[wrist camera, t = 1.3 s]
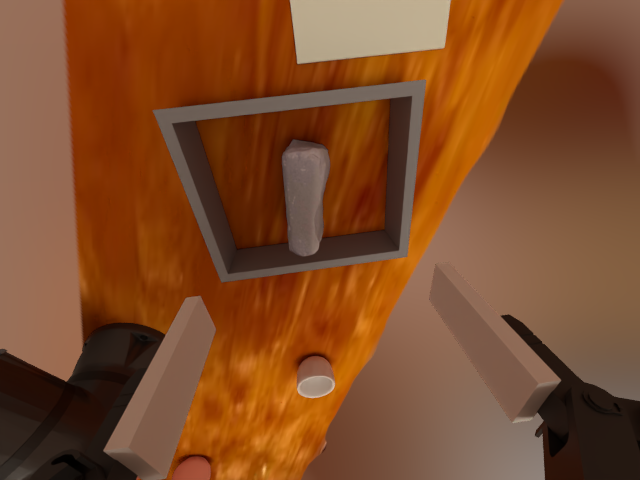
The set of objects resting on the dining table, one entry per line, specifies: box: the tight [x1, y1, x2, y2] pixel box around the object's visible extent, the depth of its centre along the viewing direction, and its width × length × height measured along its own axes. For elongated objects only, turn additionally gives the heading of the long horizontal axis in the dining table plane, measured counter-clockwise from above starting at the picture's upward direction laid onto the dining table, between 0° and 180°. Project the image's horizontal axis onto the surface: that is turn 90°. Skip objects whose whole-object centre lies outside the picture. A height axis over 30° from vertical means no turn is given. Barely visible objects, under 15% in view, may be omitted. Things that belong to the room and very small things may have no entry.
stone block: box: [282, 139, 330, 256], centre depth 28 cm, size 12×5×10 cm, turn 178°
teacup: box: [297, 356, 335, 398], centre depth 51 cm, size 10×8×5 cm
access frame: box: [153, 80, 426, 282], centre depth 30 cm, size 25×20×6 cm
